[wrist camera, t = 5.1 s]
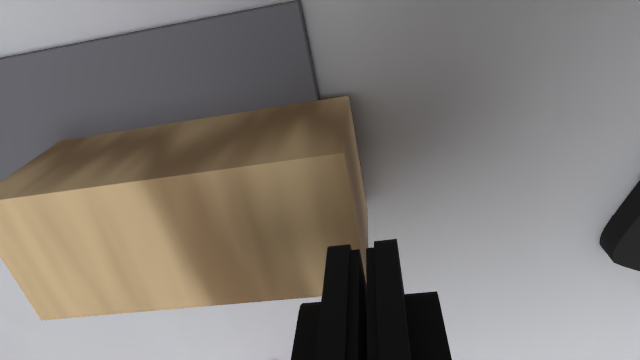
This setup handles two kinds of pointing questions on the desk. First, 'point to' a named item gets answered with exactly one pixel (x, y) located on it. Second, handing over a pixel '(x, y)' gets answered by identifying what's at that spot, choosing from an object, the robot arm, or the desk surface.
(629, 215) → the smart home device
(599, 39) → the desk surface
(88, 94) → the charcoal mat
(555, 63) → the desk surface
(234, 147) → the oak block
